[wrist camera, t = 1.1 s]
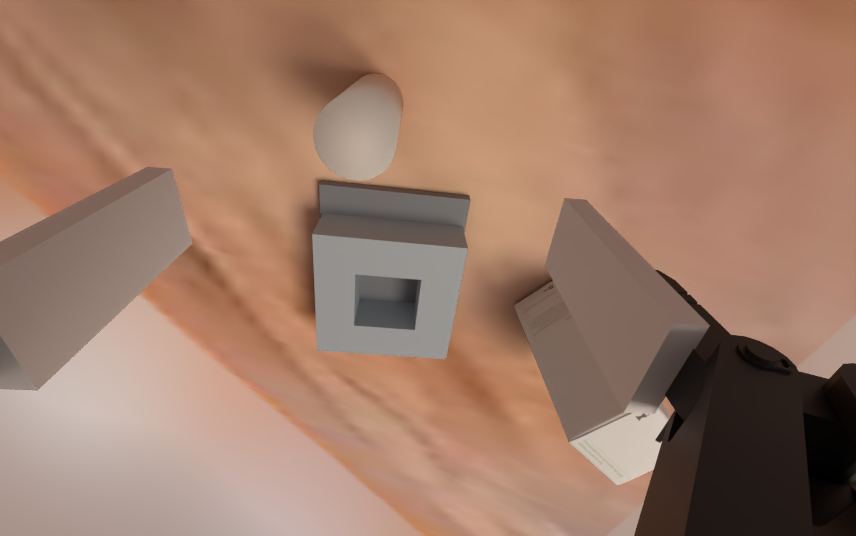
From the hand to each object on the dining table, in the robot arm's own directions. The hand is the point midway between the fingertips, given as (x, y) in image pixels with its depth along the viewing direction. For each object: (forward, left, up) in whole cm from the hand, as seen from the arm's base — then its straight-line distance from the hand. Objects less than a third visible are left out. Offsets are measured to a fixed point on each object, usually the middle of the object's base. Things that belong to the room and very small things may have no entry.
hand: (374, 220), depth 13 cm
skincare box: (+17, +18, -19) cm, 31 cm away
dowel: (-1, -2, -19) cm, 19 cm away
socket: (+14, 0, -19) cm, 23 cm away
